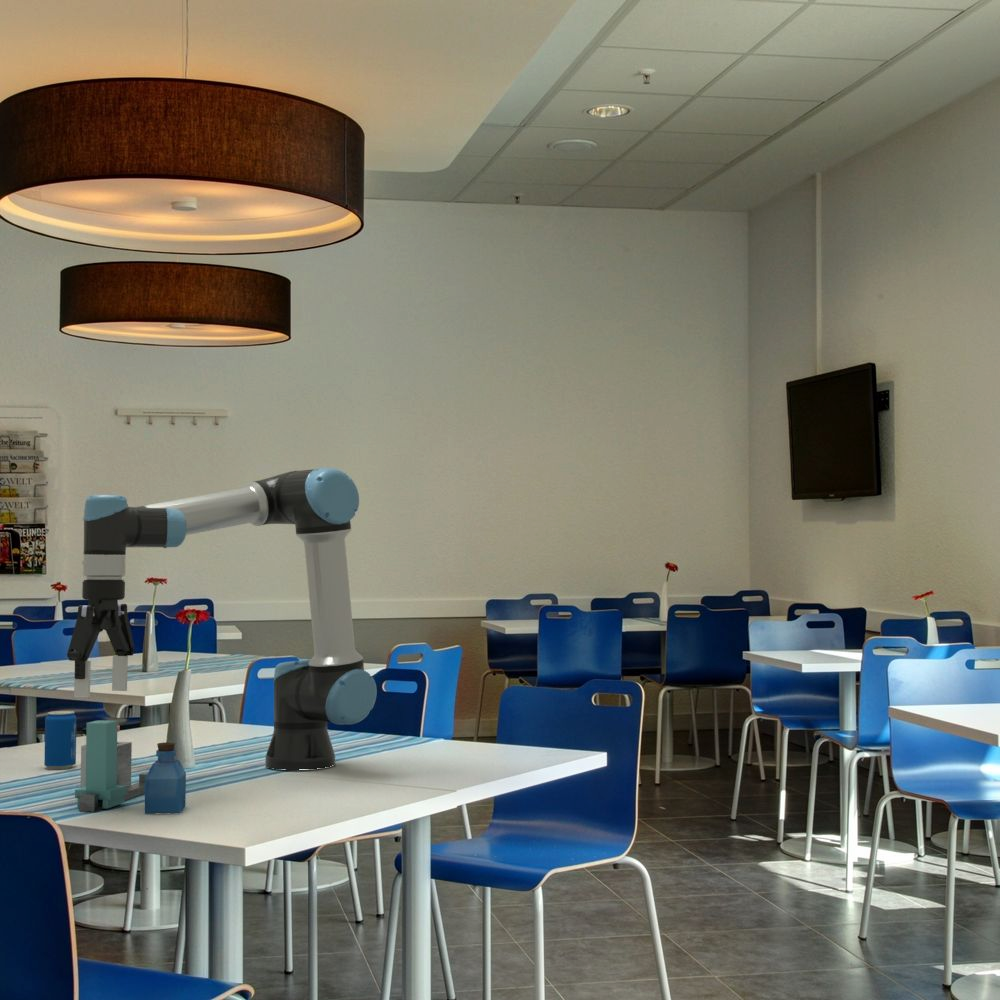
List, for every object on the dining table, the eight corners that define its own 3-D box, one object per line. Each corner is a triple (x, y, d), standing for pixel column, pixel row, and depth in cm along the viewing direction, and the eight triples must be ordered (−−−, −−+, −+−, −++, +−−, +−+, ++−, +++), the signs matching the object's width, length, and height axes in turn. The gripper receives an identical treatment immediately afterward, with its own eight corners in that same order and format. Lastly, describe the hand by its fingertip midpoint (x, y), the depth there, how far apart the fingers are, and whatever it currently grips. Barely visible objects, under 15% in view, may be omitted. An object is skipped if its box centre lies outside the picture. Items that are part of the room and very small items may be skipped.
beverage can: (65, 770, 279) (66, 714, 280) (38, 769, 281) (39, 713, 281) (81, 766, 286) (82, 711, 286) (54, 765, 287) (55, 710, 288)
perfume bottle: (179, 813, 232) (180, 745, 233) (144, 814, 232) (145, 746, 233) (185, 807, 239) (186, 741, 239) (151, 807, 238) (151, 741, 239)
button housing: (131, 787, 258) (131, 742, 259) (113, 794, 251) (114, 747, 252) (98, 786, 260) (99, 741, 260) (80, 792, 253) (81, 746, 253)
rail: (156, 788, 257) (156, 773, 257) (94, 811, 234) (94, 795, 234) (142, 788, 258) (142, 773, 258) (79, 811, 234) (79, 794, 234)
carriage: (126, 802, 241) (127, 720, 242) (110, 808, 235) (111, 724, 236) (91, 801, 242) (93, 719, 243) (74, 807, 237) (76, 723, 237)
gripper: (118, 577, 254) (116, 687, 253) (48, 578, 229) (45, 699, 228) (154, 578, 252) (151, 688, 251) (87, 579, 228) (84, 701, 227)
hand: (101, 694), depth 240 cm, fingers open, 13 cm apart
